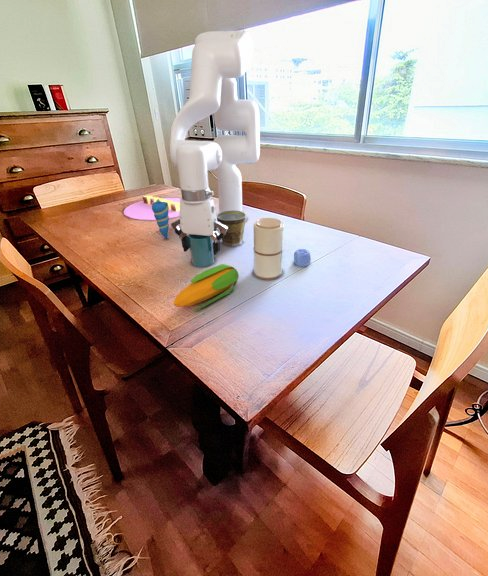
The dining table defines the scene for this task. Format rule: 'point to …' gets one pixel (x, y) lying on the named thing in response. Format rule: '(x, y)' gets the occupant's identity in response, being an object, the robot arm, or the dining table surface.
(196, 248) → the teal cup
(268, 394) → the dining table surface
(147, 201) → the platter
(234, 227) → the ceramic cup
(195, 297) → the corn
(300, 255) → the decorative dice
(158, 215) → the ornament
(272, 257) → the cup stack
